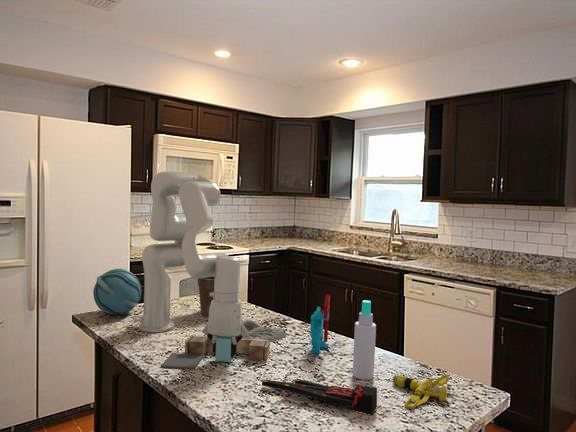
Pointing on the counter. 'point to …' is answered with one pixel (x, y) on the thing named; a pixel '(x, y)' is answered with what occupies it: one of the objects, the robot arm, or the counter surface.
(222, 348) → the block
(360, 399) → the toy
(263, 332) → the wall plaque
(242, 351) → the rack
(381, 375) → the counter surface
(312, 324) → the toy
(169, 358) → the pad
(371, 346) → the spray bottle
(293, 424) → the counter surface
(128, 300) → the toy
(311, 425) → the counter surface
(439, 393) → the sprinkler
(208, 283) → the object
